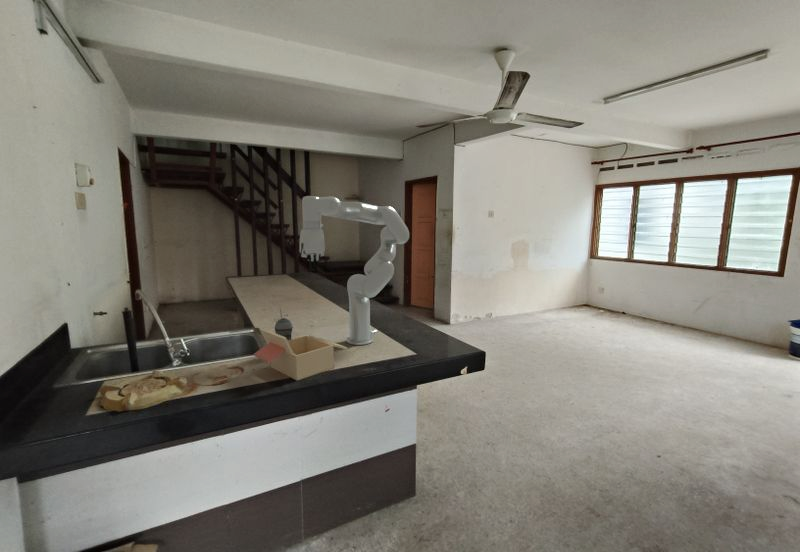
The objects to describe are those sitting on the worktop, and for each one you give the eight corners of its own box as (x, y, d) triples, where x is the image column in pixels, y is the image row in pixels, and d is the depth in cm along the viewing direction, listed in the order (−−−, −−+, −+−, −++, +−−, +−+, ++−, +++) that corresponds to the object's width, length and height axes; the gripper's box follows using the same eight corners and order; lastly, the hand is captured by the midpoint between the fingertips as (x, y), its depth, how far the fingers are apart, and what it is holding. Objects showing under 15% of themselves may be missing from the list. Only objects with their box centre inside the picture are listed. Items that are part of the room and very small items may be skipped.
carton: (307, 356, 155) (306, 335, 154) (333, 368, 143) (333, 345, 142) (271, 367, 143) (270, 344, 142) (297, 380, 131) (296, 355, 130)
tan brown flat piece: (185, 374, 137) (184, 361, 137) (189, 399, 117) (188, 384, 117) (103, 389, 125) (101, 375, 124) (92, 420, 105) (90, 403, 104)
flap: (262, 328, 138) (243, 340, 134) (285, 337, 127) (266, 351, 122) (269, 343, 141) (252, 356, 137) (293, 353, 130) (275, 368, 125)
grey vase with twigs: (288, 358, 153) (286, 310, 151) (272, 357, 155) (270, 309, 152) (296, 352, 160) (295, 306, 158) (281, 351, 162) (279, 305, 159)
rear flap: (347, 347, 148) (346, 349, 148) (322, 338, 159) (321, 340, 159) (333, 344, 143) (333, 346, 143) (308, 335, 154) (308, 337, 154)
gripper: (321, 226, 164) (322, 268, 166) (291, 226, 153) (292, 271, 155) (332, 226, 159) (333, 269, 161) (301, 226, 148) (303, 272, 150)
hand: (313, 270), depth 158 cm, fingers closed
